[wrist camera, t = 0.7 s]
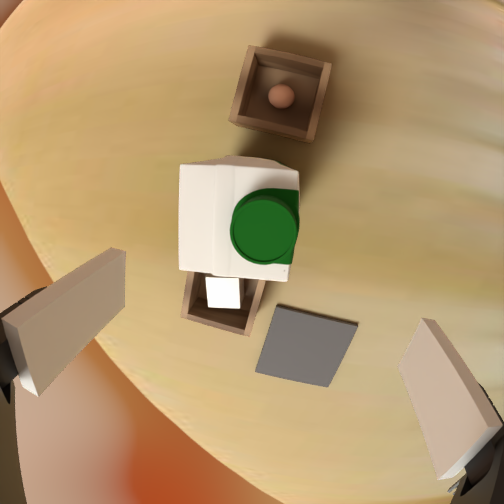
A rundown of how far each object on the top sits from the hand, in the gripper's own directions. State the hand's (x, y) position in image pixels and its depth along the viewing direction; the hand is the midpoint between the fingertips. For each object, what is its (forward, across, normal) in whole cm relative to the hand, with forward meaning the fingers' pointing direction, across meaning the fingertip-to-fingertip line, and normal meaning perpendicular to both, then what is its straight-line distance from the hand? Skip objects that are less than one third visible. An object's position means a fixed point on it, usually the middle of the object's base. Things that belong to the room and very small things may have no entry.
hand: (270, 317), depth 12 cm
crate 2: (+27, -3, +13) cm, 30 cm away
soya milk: (+27, -3, +1) cm, 27 cm away
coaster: (+26, +8, -19) cm, 34 cm away
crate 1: (+26, -5, -11) cm, 29 cm away
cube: (+26, -5, -11) cm, 28 cm away
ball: (+26, -3, +13) cm, 29 cm away
